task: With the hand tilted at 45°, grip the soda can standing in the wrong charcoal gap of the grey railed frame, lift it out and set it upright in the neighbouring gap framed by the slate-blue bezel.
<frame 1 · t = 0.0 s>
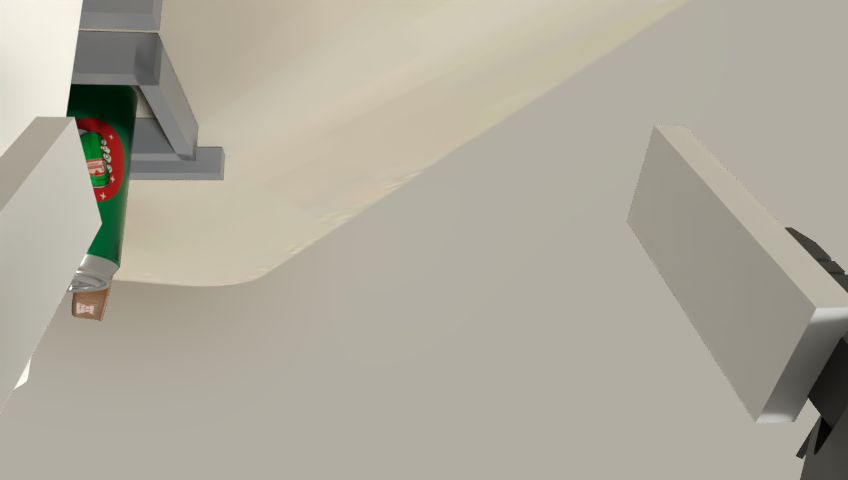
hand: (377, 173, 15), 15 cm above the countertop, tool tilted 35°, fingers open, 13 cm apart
tin: (102, 218, 59), on the countertop
soda can: (92, 80, 38), resting in grey railed frame
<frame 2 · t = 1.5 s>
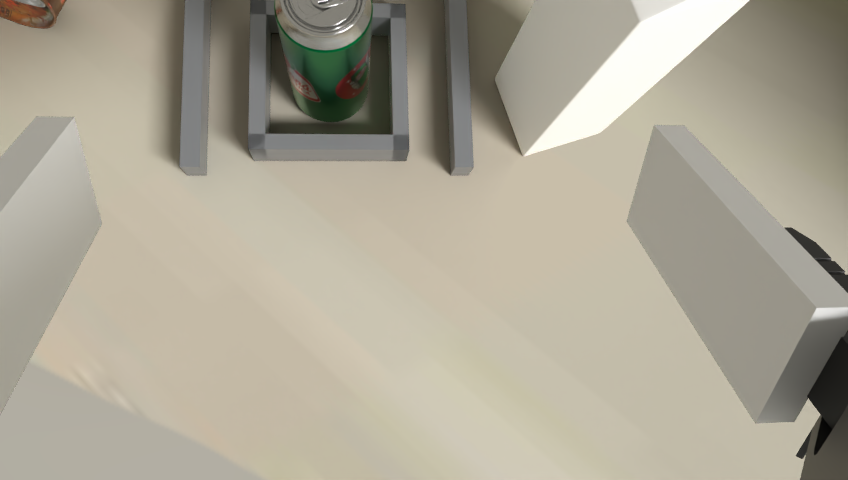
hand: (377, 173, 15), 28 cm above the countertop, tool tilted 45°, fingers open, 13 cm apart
soda can: (330, 90, 45), resting in grey railed frame
milk: (546, 107, 46), on the countertop
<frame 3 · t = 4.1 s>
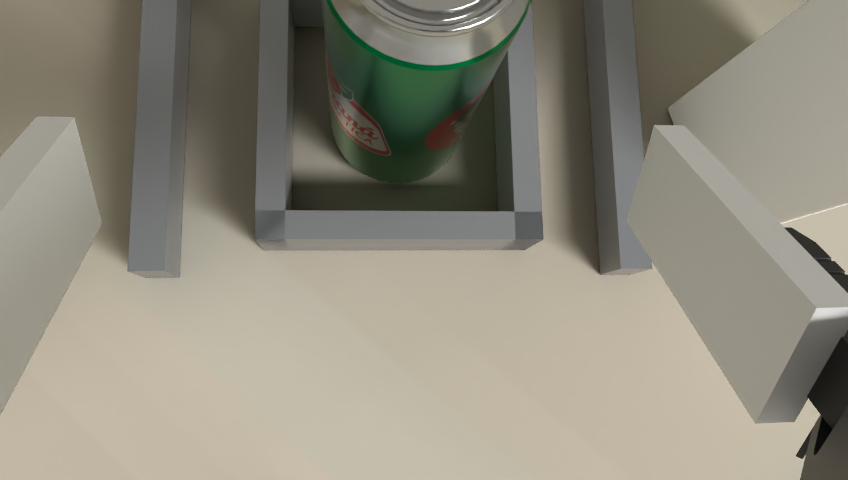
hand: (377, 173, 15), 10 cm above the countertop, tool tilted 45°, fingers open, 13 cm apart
soda can: (395, 126, 26), resting in grey railed frame
milk: (750, 156, 28), on the countertop
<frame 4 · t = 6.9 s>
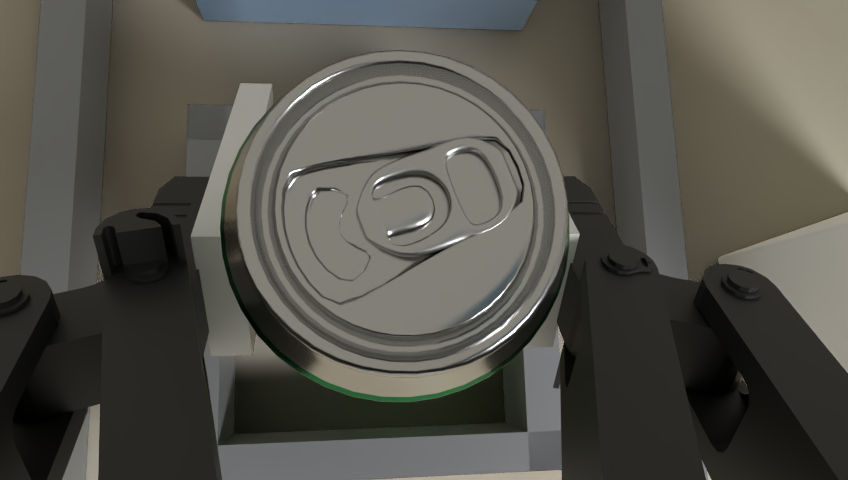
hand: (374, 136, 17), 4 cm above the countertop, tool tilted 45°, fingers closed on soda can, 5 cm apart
soda can: (370, 293, 20), resting in grey railed frame, touching gripper
milk: (821, 315, 22), on the countertop
grey railed frame: (368, 77, 21), on the countertop
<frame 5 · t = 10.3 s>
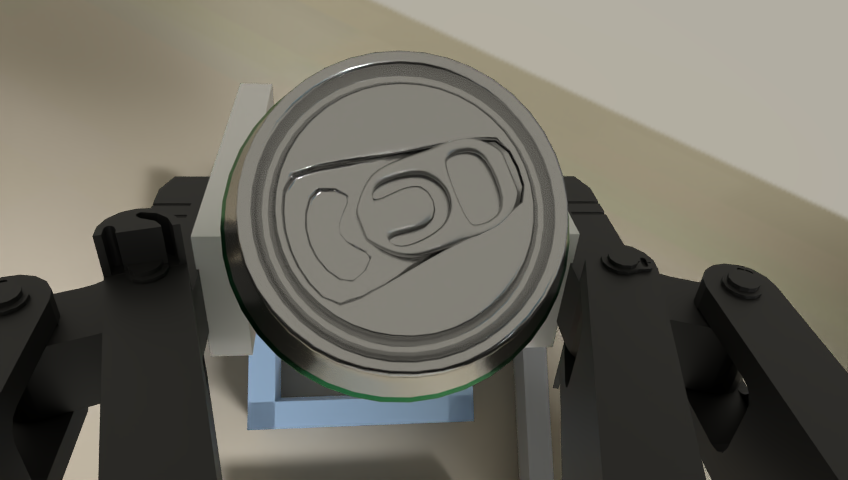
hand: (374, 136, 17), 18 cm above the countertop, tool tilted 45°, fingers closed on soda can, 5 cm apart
soda can: (370, 293, 20), point 14 cm above the countertop, touching gripper
grey railed frame: (361, 456, 33), on the countertop
when the fingers open (6 cm above the countertop, at t = 13.8 s): soda can drops 2 cm, resting in grey railed frame.
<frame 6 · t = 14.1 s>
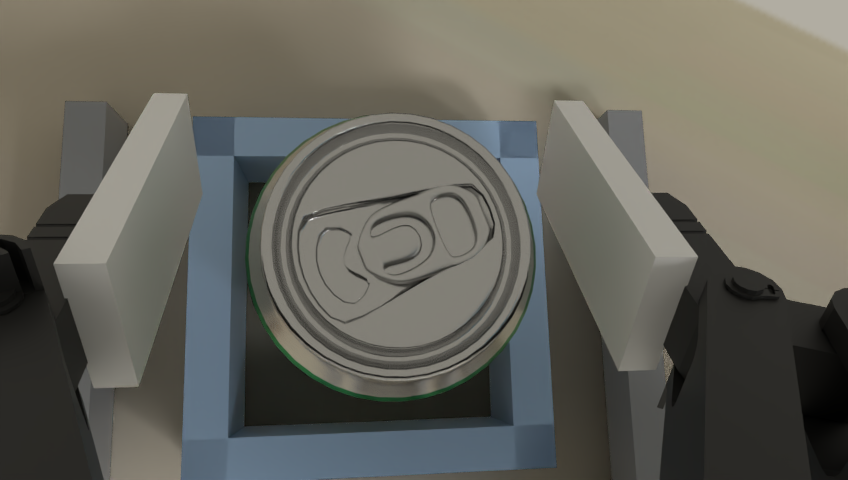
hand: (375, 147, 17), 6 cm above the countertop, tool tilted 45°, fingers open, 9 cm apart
soda can: (371, 301, 22), resting in grey railed frame
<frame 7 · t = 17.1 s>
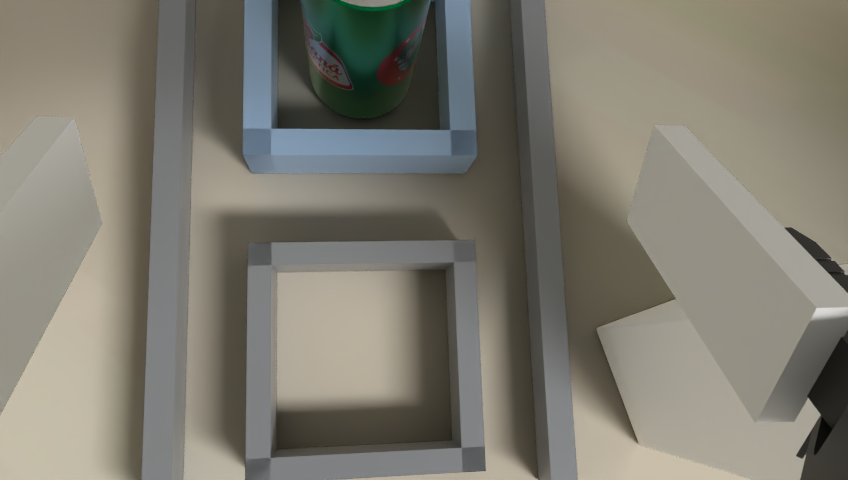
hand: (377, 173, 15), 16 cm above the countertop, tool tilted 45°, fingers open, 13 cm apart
soda can: (360, 76, 33), resting in grey railed frame
milk: (667, 365, 33), on the countertop
grey railed frame: (361, 209, 32), on the countertop
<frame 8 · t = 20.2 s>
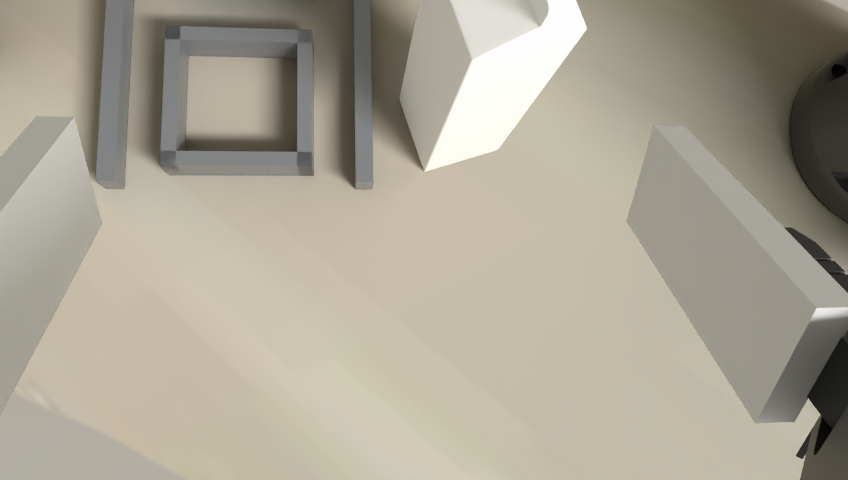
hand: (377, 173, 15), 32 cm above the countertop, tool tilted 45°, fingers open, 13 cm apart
milk: (448, 125, 50), on the countertop
grey railed frame: (245, 19, 49), on the countertop
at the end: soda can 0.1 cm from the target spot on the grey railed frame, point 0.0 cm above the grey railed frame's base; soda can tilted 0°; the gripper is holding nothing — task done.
